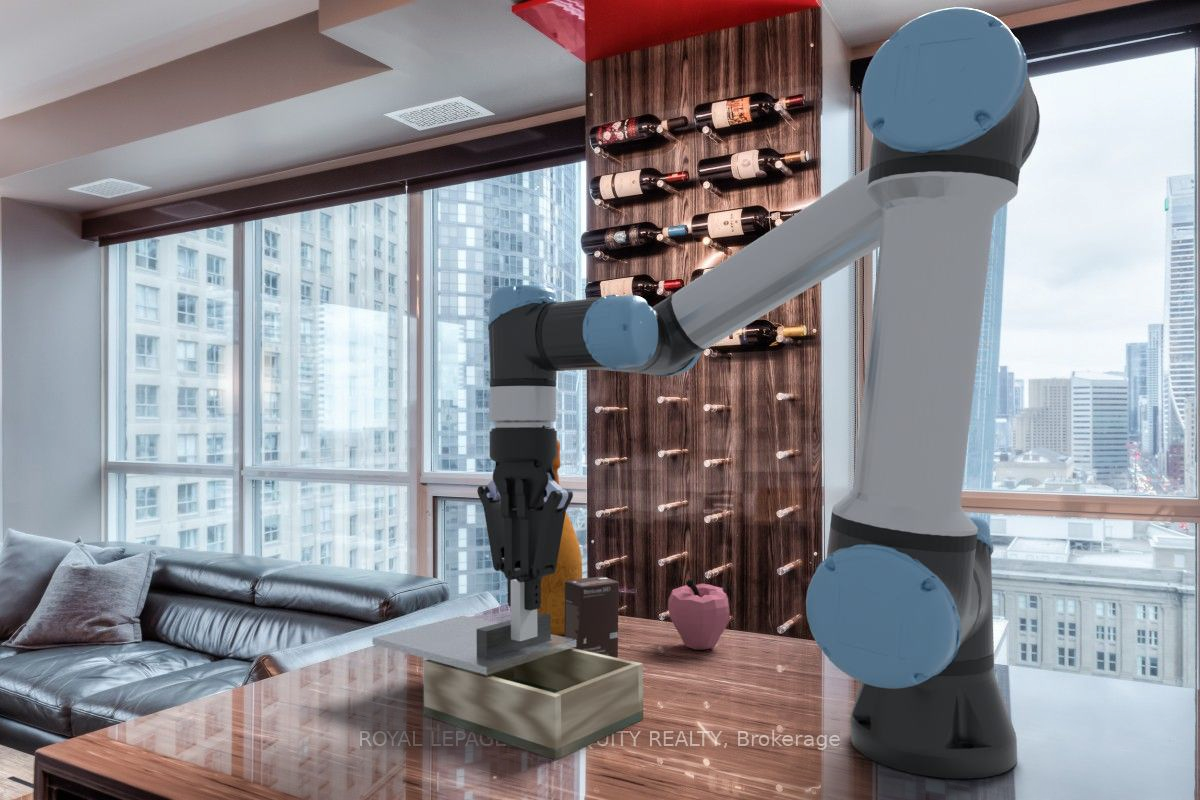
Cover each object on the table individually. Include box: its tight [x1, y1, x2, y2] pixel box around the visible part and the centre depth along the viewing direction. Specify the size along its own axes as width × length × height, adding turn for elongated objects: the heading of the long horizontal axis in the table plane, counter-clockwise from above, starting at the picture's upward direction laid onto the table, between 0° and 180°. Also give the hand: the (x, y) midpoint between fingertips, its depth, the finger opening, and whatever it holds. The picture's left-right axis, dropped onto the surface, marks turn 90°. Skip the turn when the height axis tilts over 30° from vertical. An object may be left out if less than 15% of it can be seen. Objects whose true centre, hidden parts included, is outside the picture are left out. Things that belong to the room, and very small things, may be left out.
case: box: [423, 648, 644, 761], centre depth 91 cm, size 20×14×6 cm
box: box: [563, 576, 620, 658], centre depth 106 cm, size 6×4×12 cm
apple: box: [667, 579, 731, 651], centre depth 118 cm, size 10×9×10 cm
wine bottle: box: [532, 439, 583, 636], centre depth 130 cm, size 10×10×30 cm
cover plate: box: [372, 612, 576, 675], centre depth 97 cm, size 20×14×4 cm
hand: (524, 637), depth 92 cm, fingers closed
